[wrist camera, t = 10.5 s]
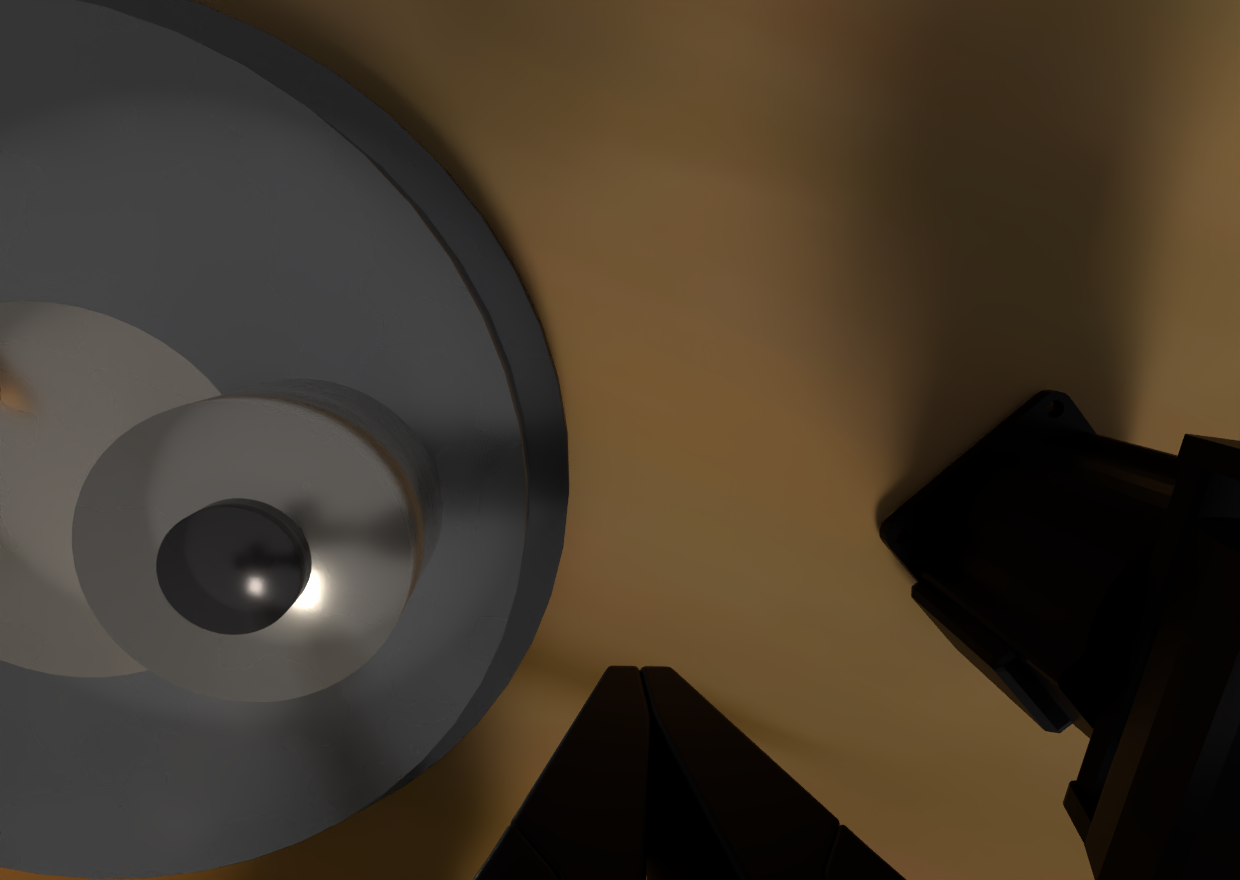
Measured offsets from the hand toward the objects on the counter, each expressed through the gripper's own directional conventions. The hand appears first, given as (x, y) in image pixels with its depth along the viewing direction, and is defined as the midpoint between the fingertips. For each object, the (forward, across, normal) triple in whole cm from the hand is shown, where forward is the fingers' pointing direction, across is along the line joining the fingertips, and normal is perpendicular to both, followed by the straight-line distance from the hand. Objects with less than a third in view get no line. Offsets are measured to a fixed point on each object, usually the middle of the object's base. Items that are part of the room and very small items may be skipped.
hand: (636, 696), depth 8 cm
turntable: (+9, +13, 0) cm, 15 cm away
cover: (+7, +7, 0) cm, 10 cm away
